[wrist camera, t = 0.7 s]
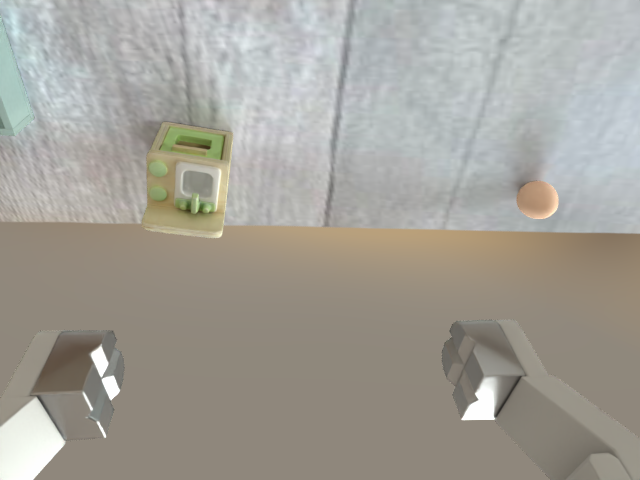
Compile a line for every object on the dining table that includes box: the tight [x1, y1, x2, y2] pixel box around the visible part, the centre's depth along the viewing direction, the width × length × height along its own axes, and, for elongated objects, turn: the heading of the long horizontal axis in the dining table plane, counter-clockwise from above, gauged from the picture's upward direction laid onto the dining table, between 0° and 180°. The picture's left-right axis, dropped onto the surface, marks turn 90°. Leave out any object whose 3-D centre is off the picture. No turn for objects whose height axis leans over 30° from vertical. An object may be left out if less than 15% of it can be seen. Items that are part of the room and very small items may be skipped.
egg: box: [517, 181, 558, 219], centre depth 60 cm, size 5×5×6 cm
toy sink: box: [142, 122, 233, 238], centre depth 49 cm, size 8×7×13 cm
